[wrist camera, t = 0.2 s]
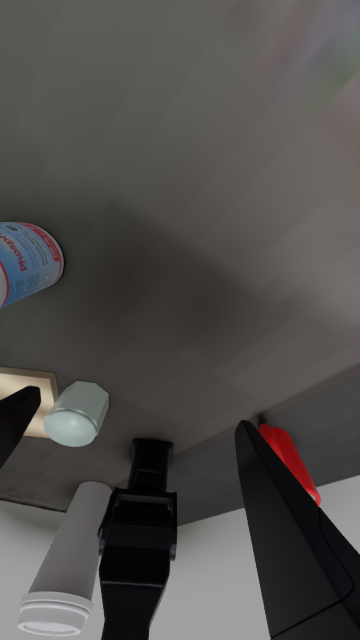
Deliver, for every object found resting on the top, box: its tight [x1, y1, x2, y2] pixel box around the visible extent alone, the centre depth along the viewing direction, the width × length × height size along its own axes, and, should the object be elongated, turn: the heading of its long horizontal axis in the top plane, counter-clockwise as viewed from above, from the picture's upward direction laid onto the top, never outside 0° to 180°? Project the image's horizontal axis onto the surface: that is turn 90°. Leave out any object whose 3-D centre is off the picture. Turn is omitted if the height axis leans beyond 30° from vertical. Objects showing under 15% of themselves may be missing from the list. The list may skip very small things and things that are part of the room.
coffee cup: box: [18, 481, 112, 636], centre depth 33 cm, size 10×10×15 cm
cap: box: [44, 381, 109, 447], centre depth 26 cm, size 6×6×5 cm
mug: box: [257, 423, 321, 507], centre depth 28 cm, size 8×12×8 cm, turn 19°
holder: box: [0, 366, 59, 438], centre depth 27 cm, size 12×12×3 cm
